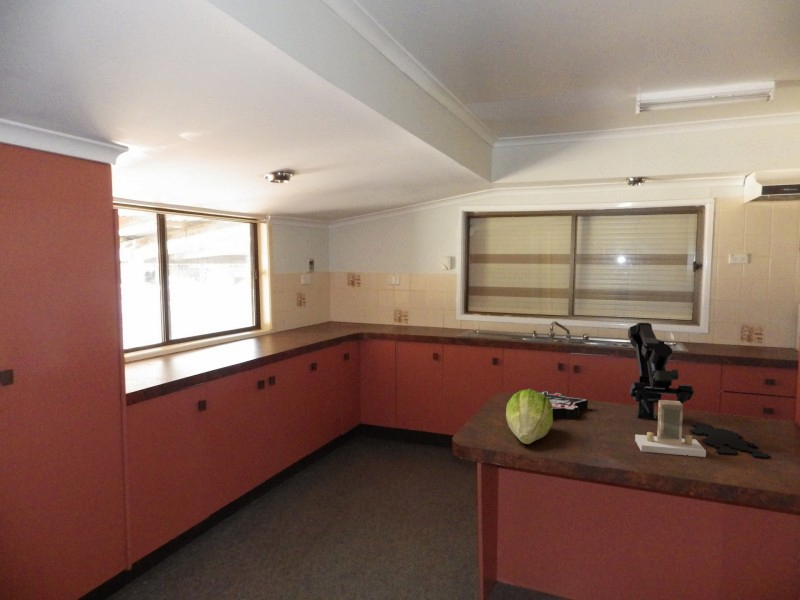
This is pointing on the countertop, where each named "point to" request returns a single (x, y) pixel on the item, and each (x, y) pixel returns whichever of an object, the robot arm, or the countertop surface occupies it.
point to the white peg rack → (670, 446)
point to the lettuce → (529, 415)
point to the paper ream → (670, 422)
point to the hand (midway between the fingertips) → (664, 413)
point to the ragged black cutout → (726, 441)
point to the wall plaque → (565, 405)
